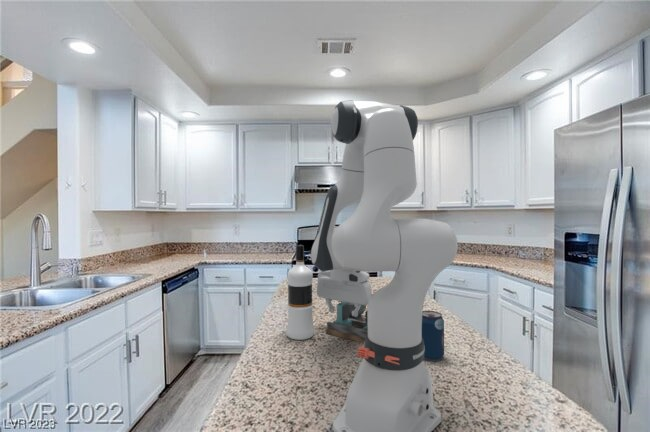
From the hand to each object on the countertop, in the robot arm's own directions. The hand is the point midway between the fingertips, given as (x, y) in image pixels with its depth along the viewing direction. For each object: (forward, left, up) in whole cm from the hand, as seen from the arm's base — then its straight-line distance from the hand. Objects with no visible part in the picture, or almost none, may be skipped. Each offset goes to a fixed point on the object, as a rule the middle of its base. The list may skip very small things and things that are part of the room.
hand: (343, 313), depth 106 cm
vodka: (-10, +10, -6) cm, 16 cm away
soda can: (-2, -30, -6) cm, 31 cm away
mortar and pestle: (+14, +4, -6) cm, 16 cm away
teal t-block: (0, 0, -4) cm, 5 cm away
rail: (0, -5, -6) cm, 8 cm away
